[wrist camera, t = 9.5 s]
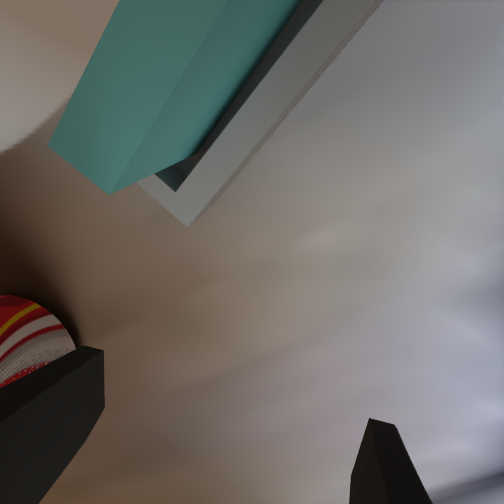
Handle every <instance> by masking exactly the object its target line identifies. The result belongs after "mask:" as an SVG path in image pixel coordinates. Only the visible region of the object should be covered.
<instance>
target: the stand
mask: <svg viewBox="0 0 504 504" xmlns="http://www.w3.org/2000/svg"><path fill="white" fill-rule="evenodd" d="M382 1H383V0H303V1H302V3H301V4H300V5H299V7H298V8H297V10H296V11H295V13H294V14H293V15H292V17H291V18H290V20H289V21H288V23H287V24H286V26H285V27H284V28H283V30H282V31H281V33H280V34H279V36H278V37H277V39H276V40H275V41H274V43H273V44H272V46H271V47H270V49H269V50H268V52H267V53H266V54H265V56H264V57H263V59H262V60H261V62H260V63H259V65H258V66H257V67H256V69H255V70H254V72H253V73H252V75H251V76H250V78H249V79H248V80H247V82H246V83H245V85H244V86H243V88H242V89H241V91H240V92H239V93H238V95H237V96H236V98H235V99H234V101H233V102H232V104H231V105H230V106H229V108H228V109H227V111H226V112H225V114H224V115H223V117H222V118H221V119H220V121H219V122H218V124H217V125H216V127H215V128H214V130H213V131H212V132H211V134H210V135H209V137H208V138H207V140H206V141H205V142H204V144H203V145H202V147H201V148H200V150H199V151H198V153H196V154H194V155H192V156H190V157H188V158H186V159H184V160H182V161H180V162H177V163H175V164H173V165H171V166H169V167H167V168H165V169H163V170H160V171H158V172H156V173H154V174H152V175H150V176H148V177H146V178H144V179H141V180H139V181H137V182H136V183H137V184H138V185H139V186H140V187H141V188H143V189H144V190H145V191H146V192H147V193H148V194H149V195H151V196H152V197H153V198H154V199H155V200H156V201H157V202H159V203H160V204H161V205H162V206H163V207H164V208H166V209H167V210H168V211H169V212H170V213H171V214H172V215H174V216H175V217H176V218H177V219H178V220H179V221H181V222H182V223H183V224H184V225H185V226H186V227H187V228H188V227H189V226H190V225H191V224H192V223H193V222H194V221H196V220H197V219H198V218H199V217H200V216H201V215H202V214H203V213H204V212H206V211H207V210H208V209H209V208H210V207H211V206H212V205H213V204H214V202H215V201H216V200H217V199H218V198H219V196H220V195H221V194H222V193H223V192H224V190H225V189H226V188H227V187H228V186H229V184H230V183H231V182H232V181H233V180H234V178H235V177H236V176H237V175H238V174H239V172H240V171H241V170H242V169H243V168H244V166H245V165H246V164H247V163H248V162H249V160H250V159H251V158H252V157H253V156H254V154H255V153H256V152H257V151H258V150H259V148H260V147H261V146H262V145H263V144H264V142H265V141H266V140H267V139H268V138H269V136H270V135H271V134H272V133H273V132H274V130H275V129H276V128H277V127H278V126H279V124H280V123H281V122H282V121H283V120H284V118H285V117H286V116H287V115H288V114H289V112H290V111H291V110H292V109H293V108H294V107H295V105H296V104H297V103H298V102H299V101H300V99H301V98H302V97H303V96H304V95H305V93H306V92H307V91H308V90H309V89H310V87H311V86H312V85H313V84H314V83H315V81H316V80H317V79H318V78H319V77H320V75H321V74H322V73H323V72H324V71H325V69H326V68H327V67H328V66H329V65H330V63H331V62H332V61H333V60H334V59H335V57H336V56H337V55H338V54H339V53H340V51H341V50H342V49H343V48H344V47H345V45H346V44H347V43H348V42H349V41H350V39H351V38H352V37H353V36H354V35H355V33H356V32H357V31H358V30H359V29H360V27H361V26H362V25H363V24H364V23H365V21H366V20H367V19H368V18H369V17H370V15H371V14H372V13H373V12H374V11H375V9H376V8H377V7H378V6H379V5H380V4H381V2H382Z"/></svg>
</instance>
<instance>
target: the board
mask: <svg viewBox="0 0 504 504" xmlns="http://www.w3.org/2000/svg"><path fill="white" fill-rule="evenodd" d="M302 1H303V0H120V1H119V2H118V5H117V7H116V9H115V11H114V13H113V15H112V17H111V19H110V21H109V23H108V25H107V27H106V29H105V31H104V33H103V35H102V37H101V39H100V41H99V43H98V45H97V47H96V49H95V51H94V53H93V55H92V57H91V59H90V61H89V63H88V65H87V67H86V69H85V71H84V73H83V75H82V77H81V79H80V81H79V83H78V85H77V87H76V89H75V91H74V93H73V95H72V97H71V99H70V101H69V103H68V105H67V107H66V109H65V111H64V113H63V115H62V117H61V119H60V121H59V123H58V125H57V127H56V129H55V131H54V133H53V135H52V137H51V139H50V141H49V143H48V145H47V146H48V147H50V148H51V149H52V150H53V151H55V152H56V153H57V154H58V155H60V156H61V157H62V158H63V159H65V160H66V161H67V162H68V163H70V164H71V165H72V166H73V167H75V168H76V169H77V170H78V171H80V172H81V173H82V174H83V175H85V176H86V177H87V178H88V179H90V180H91V181H92V182H93V183H95V184H96V185H97V186H98V187H100V188H101V189H102V190H103V191H105V192H106V193H107V194H108V195H110V194H112V193H114V192H116V191H118V190H120V189H122V188H125V187H127V186H129V185H131V184H133V183H135V182H137V181H139V180H141V179H144V178H146V177H148V176H150V175H152V174H154V173H156V172H158V171H160V170H163V169H165V168H167V167H169V166H171V165H173V164H175V163H177V162H180V161H182V160H184V159H186V158H188V157H190V156H192V155H194V154H196V153H198V151H199V150H200V148H201V147H202V145H203V144H204V142H205V141H206V140H207V138H208V137H209V135H210V134H211V132H212V131H213V130H214V128H215V127H216V125H217V124H218V122H219V121H220V119H221V118H222V117H223V115H224V114H225V112H226V111H227V109H228V108H229V106H230V105H231V104H232V102H233V101H234V99H235V98H236V96H237V95H238V93H239V92H240V91H241V89H242V88H243V86H244V85H245V83H246V82H247V80H248V79H249V78H250V76H251V75H252V73H253V72H254V70H255V69H256V67H257V66H258V65H259V63H260V62H261V60H262V59H263V57H264V56H265V54H266V53H267V52H268V50H269V49H270V47H271V46H272V44H273V43H274V41H275V40H276V39H277V37H278V36H279V34H280V33H281V31H282V30H283V28H284V27H285V26H286V24H287V23H288V21H289V20H290V18H291V17H292V15H293V14H294V13H295V11H296V10H297V8H298V7H299V5H300V4H301V3H302Z"/></svg>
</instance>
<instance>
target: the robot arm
mask: <svg viewBox="0 0 504 504" xmlns="http://www.w3.org/2000/svg"><path fill="white" fill-rule="evenodd" d="M104 408H105V397H104V350H100V349H96V348H92V347H88V346H84V345H83V346H81V347H79V348H77V349H75V350H73V351H71V352H69V353H67V354H65V355H63V356H61V357H59V358H57V359H56V360H54V361H52V362H50V363H48V364H46V365H44V366H42V367H40V368H39V369H37V370H35V371H33V372H31V373H29V374H27V375H25V376H23V377H21V378H19V379H17V380H15V381H13V382H11V383H9V384H7V385H5V386H3V387H1V388H0V504H39V502H40V501H41V500H42V498H43V497H44V496H45V495H46V493H47V492H48V491H49V489H50V488H51V487H52V485H53V484H54V483H55V481H56V480H57V479H58V477H59V476H60V475H61V473H62V472H63V471H64V469H65V468H66V467H67V465H68V464H69V463H70V461H71V460H72V459H73V457H74V456H75V455H76V453H77V452H78V451H79V449H80V448H81V446H82V445H83V444H84V442H85V441H86V439H87V437H88V436H89V434H90V432H91V431H92V429H93V427H94V426H95V424H96V422H97V420H98V419H99V417H100V415H101V413H102V412H103V410H104ZM349 504H433V503H432V501H431V500H430V498H429V496H428V494H427V492H426V490H425V488H424V486H423V484H422V482H421V480H420V478H419V476H418V474H417V472H416V470H415V468H414V465H413V463H412V461H411V459H410V457H409V455H408V452H407V450H406V448H405V446H404V444H403V441H402V439H401V437H400V434H399V432H398V430H397V428H396V427H395V425H394V424H390V423H386V422H382V421H378V420H374V419H371V418H369V420H368V423H367V427H366V430H365V433H364V436H363V439H362V442H361V446H360V449H359V452H358V455H357V458H356V461H355V465H354V468H353V471H352V474H351V483H350V499H349Z"/></svg>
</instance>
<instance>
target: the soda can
mask: <svg viewBox="0 0 504 504" xmlns="http://www.w3.org/2000/svg"><path fill="white" fill-rule="evenodd" d="M75 349H76V348H75V345H74V343H73V340H72V338H71V336H70V335H69V333H68V332H67V330H66V329H65V327H64V326H63V325H62V324H61V322H60V321H59V320H58V319H57V318H56V317H55V316H54V315H53V314H52V313H50V312H49V311H48V310H46V309H45V308H43V307H42V306H40V305H38V304H37V303H35V302H32V301H30V300H28V299H25V298H22V297H18V296H11V295H1V296H0V388H1V387H3V386H5V385H7V384H9V383H11V382H13V381H15V380H17V379H19V378H21V377H23V376H25V375H27V374H29V373H31V372H33V371H35V370H37V369H39V368H40V367H42V366H44V365H46V364H48V363H50V362H52V361H54V360H56V359H57V358H59V357H61V356H63V355H65V354H67V353H69V352H71V351H73V350H75Z"/></svg>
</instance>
